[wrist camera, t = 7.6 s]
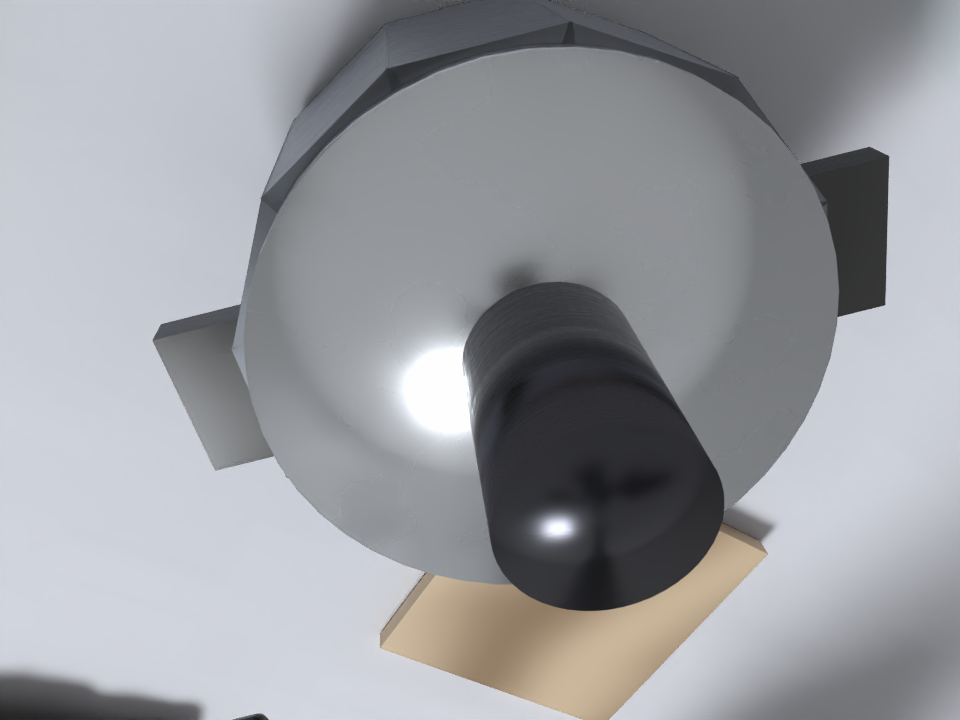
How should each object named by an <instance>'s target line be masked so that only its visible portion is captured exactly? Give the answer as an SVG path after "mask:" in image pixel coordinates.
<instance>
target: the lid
mask: <svg viewBox="0 0 960 720" xmlns="http://www.w3.org/2000/svg"><path fill="white" fill-rule="evenodd" d="M838 299H839V284H838V271H837V259H836V253H835V248H834V244H833V240H832V236H831V232H830V227H829V223H828V220H827V217H826V215H825V213H824V210H823V208H822V205H821V203H820V200H819V198H818V195H817V193H816V191H815V188H814V186H813V185H812V183H811V182H810V180H809V178H808V177H807V175H806V173H805V172H804V170H803V168H802V167H801V165H800V163H799V162H798V160H797V159H796V157H795V156H794V154H793V153H792V152H791V151H790V150H789V149H788V147H787V146H786V145H785V144H784V143H783V142H782V140H781V139H780V138H779V137H778V136H777V135H776V133H775V132H774V131H773V130H772V129H771V128H770V127H769V126H768V125H767V124H766V123H765V122H763V121H762V120H761V119H760V118H759V117H758V116H756V115H755V114H754V113H753V112H752V111H750V110H749V109H748V108H747V107H746V106H745V105H743V104H742V103H741V102H740V101H738V100H737V99H735V98H733V97H732V96H730V95H728V94H727V93H725V92H723V91H722V90H720V89H718V88H717V87H715V86H713V85H712V84H710V83H709V82H707V81H705V80H703V79H702V78H700V77H698V76H696V75H694V74H692V73H690V72H687V71H685V70H682V69H680V68H678V67H675V66H673V65H670V64H668V63H666V62H663V61H661V60H658V59H656V58H653V57H649V56H645V55H641V54H637V53H633V52H629V51H625V50H621V49H617V48H613V47H603V46H592V45H582V44H572V43H563V44H540V45H523V46H518V47H512V48H507V49H501V50H496V51H491V52H485V53H480V54H477V55H474V56H471V57H468V58H465V59H462V60H459V61H456V62H453V63H450V64H447V65H444V66H441V67H438V68H436V69H434V70H432V71H430V72H428V73H425V74H423V75H421V76H419V77H417V78H415V79H413V80H411V81H409V82H407V83H405V84H403V85H401V86H399V87H397V88H395V89H394V90H393V91H391V92H390V93H388V94H387V95H385V96H384V97H382V98H381V99H379V100H378V101H376V102H375V103H373V104H372V105H370V106H369V107H367V108H366V109H364V110H363V111H361V112H360V113H359V114H358V115H357V116H355V117H354V118H353V119H352V120H351V121H350V122H349V123H348V124H347V125H345V126H344V127H343V128H342V129H341V130H340V131H339V132H338V133H336V134H335V135H334V136H333V137H332V138H331V139H330V140H329V141H328V142H327V143H326V144H325V145H324V146H323V148H322V149H321V150H320V151H319V152H318V153H317V155H316V156H315V157H314V158H313V159H312V161H311V162H310V163H309V164H308V165H307V166H306V168H305V169H304V170H303V171H302V172H301V174H300V175H299V177H298V178H297V180H296V182H295V183H294V185H293V186H292V188H291V190H290V191H289V193H288V194H287V196H286V198H285V199H284V201H283V202H282V204H281V206H280V207H279V209H278V211H277V214H276V216H275V218H274V220H273V223H272V225H271V227H270V229H269V232H268V234H267V236H266V239H265V241H264V243H263V246H262V248H261V251H260V254H259V257H258V261H257V264H256V268H255V272H254V275H253V279H252V282H251V286H250V290H249V293H248V300H247V309H246V317H245V326H244V351H245V370H246V375H247V381H248V386H249V391H250V396H251V402H252V405H253V408H254V410H255V413H256V416H257V419H258V422H259V425H260V428H261V430H262V433H263V436H264V437H265V439H266V441H267V443H268V445H269V447H270V449H271V451H272V453H273V455H274V456H275V458H276V460H277V462H278V464H279V465H280V467H281V468H282V469H283V471H284V472H285V474H286V475H287V476H288V478H289V479H290V481H291V482H292V483H293V485H294V486H295V487H296V489H297V490H298V491H299V492H300V493H301V494H302V495H303V496H304V498H305V499H306V500H307V501H308V502H309V503H310V504H311V505H312V506H313V507H314V508H315V509H316V510H317V511H318V512H319V513H320V514H321V515H322V516H323V517H325V518H326V519H327V520H328V521H330V522H331V523H332V524H333V525H335V526H336V527H337V528H338V529H340V530H341V531H342V532H343V533H345V534H346V535H348V536H349V537H351V538H353V539H354V540H356V541H358V542H359V543H361V544H362V545H364V546H366V547H367V548H369V549H371V550H372V551H374V552H376V553H379V554H381V555H383V556H385V557H387V558H389V559H392V560H394V561H396V562H398V563H400V564H403V565H406V566H409V567H412V568H415V569H418V570H421V571H424V572H427V573H430V574H433V575H438V576H443V577H447V578H452V579H457V580H462V581H468V582H478V583H487V584H505V585H514V586H515V587H516V588H518V589H519V590H520V591H521V592H523V593H525V594H526V595H528V596H529V597H531V598H533V599H535V600H537V601H539V602H541V603H544V604H547V605H550V606H553V607H557V608H562V609H567V610H576V611H601V610H611V609H616V608H621V607H625V606H629V605H632V604H636V603H639V602H641V601H644V600H646V599H649V598H651V597H653V596H655V595H657V594H659V593H661V592H663V591H665V590H667V589H668V588H670V587H671V586H673V585H675V584H676V583H678V582H679V581H680V580H681V579H683V578H684V577H685V576H686V575H688V574H689V573H690V572H691V571H692V570H693V569H694V568H695V567H696V566H697V565H698V564H699V563H700V561H701V560H702V559H703V558H704V557H705V555H706V554H707V553H708V551H709V549H710V548H711V546H712V545H713V543H714V541H715V539H716V537H717V535H718V532H719V530H720V526H721V523H722V520H723V514H724V512H725V511H726V510H727V509H728V508H730V507H731V506H732V505H733V504H735V503H736V502H737V501H738V500H740V499H741V498H742V497H743V496H744V495H745V494H746V493H747V492H748V491H749V490H750V489H751V488H752V487H753V486H754V485H755V484H756V483H757V482H758V481H759V480H760V479H761V478H762V477H763V476H764V475H765V474H766V473H767V471H768V470H769V469H770V468H771V467H772V465H773V464H774V463H775V462H776V460H777V459H778V458H779V457H780V455H781V454H782V453H783V452H784V451H785V449H786V448H787V446H788V445H789V443H790V442H791V440H792V439H793V437H794V436H795V434H796V432H797V431H798V429H799V428H800V426H801V425H802V423H803V422H804V420H805V418H806V416H807V414H808V412H809V410H810V408H811V406H812V403H813V401H814V399H815V397H816V395H817V393H818V391H819V389H820V386H821V383H822V380H823V377H824V374H825V371H826V368H827V366H828V363H829V360H830V356H831V351H832V346H833V341H834V336H835V331H836V327H837V315H838Z"/></svg>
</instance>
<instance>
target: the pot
mask: <svg viewBox="0 0 960 720" xmlns="http://www.w3.org/2000/svg"><path fill="white" fill-rule="evenodd" d="M563 43H572V44H582V45H592V46H603V47H613V48H617V49H621V50H625V51H629V52H633V53H637V54H641V55H645V56H649V57H653V58H656V59H658V60H661V61H663V62H666V63H668V64H670V65H673V66H675V67H678V68H680V69H682V70H685V71H687V72H690V73H692V74H694V75H696V76H698V77H700V78H702V79H703V80H705V81H707V82H709V83H710V84H712V85H713V86H715V87H717V88H718V89H720V90H722V91H723V92H725V93H727V94H728V95H730V96H732V97H733V98H735V99H737V100H738V101H740V102H741V103H742V104H743V105H745V106H746V107H747V108H748V109H749V110H750V111H752V112H753V113H754V114H755V115H756V116H758V117H759V118H760V119H761V120H762V121H763V122H765V123H766V124H767V125H768V126H769V127H770V128H771V129H772V130H773V131H774V132H775V133H776V135H777V136H778V137H779V138H780V139H781V137H780V136H779V134H778V133H777V132H776V130H775V129H774V127H773V126H772V125H771V123H770V122H769V121H768V119H767V118H766V116H765V115H764V114H763V112H762V111H761V109H760V108H759V107H758V105H757V104H756V103H755V101H754V100H753V98H752V97H751V96H750V94H749V93H748V92H747V90H746V89H745V87H744V86H743V85H742V83H741V82H740V80H739V79H738V77H737V76H735V75H733V74H731V73H729V72H727V71H725V70H722V69H720V68H718V67H716V66H714V65H712V64H710V63H708V62H706V61H703V60H701V59H699V58H697V57H695V56H693V55H691V54H689V53H687V52H684V51H682V50H680V49H678V48H676V47H674V46H672V45H670V44H668V43H665V42H663V41H661V40H659V39H657V38H655V37H653V36H651V35H649V34H646V33H644V32H642V31H638V30H635V29H632V28H629V27H626V26H623V25H620V24H617V23H614V22H611V21H608V20H605V19H602V18H599V17H596V16H593V15H590V14H587V13H584V12H582V11H580V10H577V9H573V8H570V7H567V6H564V5H561V4H558V3H555V2H552V1H549V0H477V1H473V2H467V3H462V4H456V5H451V6H448V7H445V8H442V9H439V10H436V11H433V12H430V13H426V14H422V15H418V16H414V17H411V18H407V19H403V20H399V21H395V22H391V23H386V24H384V26H383V27H382V28H381V29H380V30H379V31H378V32H377V33H376V35H375V36H374V37H373V38H372V39H371V40H370V41H369V42H368V43H367V44H366V45H365V46H364V47H363V48H362V49H361V50H360V51H359V52H358V53H357V54H356V56H355V57H354V58H353V59H352V60H351V61H349V62H348V63H347V64H346V65H345V66H344V67H343V68H342V69H341V70H340V71H339V72H338V73H337V74H336V75H335V77H334V78H333V79H332V80H331V81H330V83H329V84H328V85H327V86H326V87H325V88H324V89H323V90H322V91H321V92H320V93H319V94H318V95H317V96H316V98H315V99H314V100H313V101H312V102H311V103H310V104H309V105H308V106H307V107H306V108H305V109H304V110H303V111H302V112H301V113H300V114H299V115H298V116H297V117H296V118H295V119H294V121H293V123H292V125H291V127H290V130H289V132H288V134H287V137H286V139H285V142H284V144H283V146H282V149H281V151H280V154H279V156H278V158H277V161H276V163H275V165H274V168H273V170H272V173H271V175H270V177H269V180H268V182H267V185H266V187H265V189H264V192H263V194H262V196H261V203H260V209H259V214H258V219H257V224H256V229H255V234H254V240H253V245H252V250H251V255H250V260H249V265H248V270H247V276H246V281H245V286H244V291H243V296H242V301H241V304H240V305H236V306H232V307H228V308H224V309H220V310H216V311H212V312H208V313H204V314H200V315H196V316H192V317H188V318H184V319H180V320H176V321H172V322H168V323H164V324H161V326H160V327H159V329H158V331H157V333H156V335H155V337H154V339H153V342H154V344H155V347H156V349H157V351H158V353H159V355H160V357H161V359H162V361H163V363H164V365H165V367H166V369H167V371H168V374H169V376H170V378H171V380H172V382H173V384H174V386H175V388H176V390H177V392H178V394H179V396H180V398H181V400H182V403H183V405H184V407H185V409H186V411H187V413H188V415H189V417H190V419H191V421H192V423H193V425H194V427H195V430H196V432H197V434H198V436H199V438H200V440H201V442H202V444H203V446H204V448H205V450H206V452H207V454H208V457H209V459H210V461H211V463H212V465H213V467H214V469H215V471H216V470H220V469H224V468H228V467H232V466H236V465H240V464H244V463H248V462H252V461H256V460H260V459H265V458H269V457H273V456H274V455H273V453H272V451H271V449H270V447H269V445H268V443H267V441H266V439H265V437H264V436H263V433H262V430H261V428H260V425H259V422H258V419H257V416H256V413H255V410H254V408H253V405H252V402H251V396H250V391H249V386H248V381H247V375H246V370H245V351H244V326H245V317H246V309H247V300H248V293H249V290H250V286H251V282H252V279H253V275H254V272H255V268H256V264H257V261H258V257H259V254H260V251H261V248H262V246H263V243H264V241H265V239H266V236H267V234H268V232H269V229H270V227H271V225H272V223H273V220H274V218H275V216H276V214H277V211H278V209H279V207H280V206H281V204H282V202H283V201H284V199H285V198H286V196H287V194H288V193H289V191H290V190H291V188H292V186H293V185H294V183H295V182H296V180H297V178H298V177H299V175H300V174H301V172H302V171H303V170H304V169H305V168H306V166H307V165H308V164H309V163H310V162H311V161H312V159H313V158H314V157H315V156H316V155H317V153H318V152H319V151H320V150H321V149H322V148H323V146H324V145H325V144H326V143H327V142H328V141H329V140H330V139H331V138H332V137H333V136H334V135H335V134H336V133H338V132H339V131H340V130H341V129H342V128H343V127H344V126H345V125H347V124H348V123H349V122H350V121H351V120H352V119H353V118H354V117H355V116H357V115H358V114H359V113H360V112H361V111H363V110H364V109H366V108H367V107H369V106H370V105H372V104H373V103H375V102H376V101H378V100H379V99H381V98H382V97H384V96H385V95H387V94H388V93H390V92H391V91H393V90H394V89H395V88H397V87H399V86H401V85H403V84H405V83H407V82H409V81H411V80H413V79H415V78H417V77H419V76H421V75H423V74H425V73H428V72H430V71H432V70H434V69H436V68H438V67H441V66H444V65H447V64H450V63H453V62H456V61H459V60H462V59H465V58H468V57H471V56H474V55H477V54H480V53H485V52H491V51H496V50H501V49H507V48H512V47H518V46H523V45H540V44H563ZM781 140H782V139H781ZM782 142H783V143H784V141H783V140H782ZM784 144H785V143H784ZM785 145H786V144H785ZM786 146H787V145H786ZM788 149H789V148H788ZM800 165H801V167H802V168H803V170H804V172H805V173H806V175H807V177H808V178H809V180H810V182H811V183H812V185H813V186H814V188H815V191H816V193H817V195H818V198H819V200H820V203H821V205H822V208H823V210H824V213H825V215H826V217H827V220H828V223H829V227H830V232H831V236H832V240H833V244H834V248H835V253H836V259H837V271H838V284H839V299H838V315H837V317H839V316H843V315H847V314H851V313H855V312H859V311H863V310H867V309H872V308H876V307H880V306H884V305H885V293H886V254H887V216H888V177H889V156H888V155H886V154H884V153H882V152H880V151H877V150H875V149H873V148H871V147H867V148H863V149H859V150H855V151H851V152H847V153H843V154H839V155H835V156H831V157H827V158H823V159H819V160H815V161H811V162H807V163H803V164H800ZM284 473H285V472H284ZM285 476H286V477H287V478H288V476H287V475H286V474H285Z"/></svg>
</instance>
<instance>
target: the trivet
mask: <svg viewBox="0 0 960 720" xmlns="http://www.w3.org/2000/svg"><path fill="white" fill-rule="evenodd" d="M767 555H768V553H767V552H766V550H765V548H764V547H763V545H762V543H761V542H760V541H758V540H756V539H754V538H752V537H750V536H748V535H746V534H744V533H742V532H740V531H738V530H736V529H734V528H732V527H730V526H728V525H726V524H724V523H721V526H720V530H719V532H718V535H717V537H716V539H715V541H714V543H713V545H712V546H711V548H710V549H709V551H708V553H707V554H706V555H705V557H704V558H703V559H702V560H701V561H700V563H699V564H698V565H697V566H696V567H695V568H694V569H693V570H692V571H691V572H690V573H689V574H688V575H686V576H685V577H684V578H683V579H681V580H680V581H679V582H678V583H676V584H675V585H673V586H671V587H670V588H668V589H667V590H665V591H663V592H661V593H659V594H657V595H655V596H653V597H651V598H649V599H646V600H644V601H641V602H639V603H636V604H632V605H629V606H625V607H621V608H616V609H611V610H601V611H576V610H567V609H562V608H557V607H553V606H550V605H547V604H544V603H541V602H539V601H537V600H535V599H533V598H531V597H529V596H528V595H526V594H525V593H523V592H521V591H520V590H519V589H518V588H516V587H515V586H514V585H505V584H487V583H478V582H468V581H462V580H457V579H452V578H447V577H443V576H438V575H433V574H430V573H427V572H426V574H425V575H424V576H423V578H422V579H421V580H420V582H419V583H418V584H417V585H416V587H415V588H414V589H413V591H412V592H411V593H410V595H409V596H408V597H407V599H406V600H405V601H404V603H403V604H402V605H401V607H400V608H399V609H398V611H397V612H396V613H395V615H394V616H393V617H392V619H391V620H390V621H389V623H388V624H387V625H386V627H385V628H384V629H383V631H382V632H381V633H380V648H381V649H384V650H387V651H390V652H392V653H395V654H398V655H401V656H404V657H407V658H409V659H412V660H415V661H418V662H421V663H424V664H426V665H429V666H432V667H435V668H438V669H441V670H444V671H446V672H449V673H452V674H455V675H458V676H461V677H463V678H466V679H469V680H472V681H475V682H478V683H480V684H483V685H486V686H489V687H492V688H495V689H498V690H500V691H503V692H506V693H509V694H512V695H515V696H517V697H520V698H523V699H526V700H529V701H532V702H534V703H537V704H540V705H543V706H546V707H549V708H551V709H554V710H557V711H560V712H563V713H566V714H569V715H571V716H574V717H577V718H580V719H583V720H609V719H610V718H611V717H612V716H613V715H614V714H615V713H616V712H617V711H618V709H619V708H620V707H621V706H622V705H623V704H624V703H625V702H626V701H627V700H628V699H629V698H630V697H631V696H632V695H633V694H634V693H635V692H636V691H637V690H638V689H639V688H640V687H641V686H642V685H643V683H644V682H645V681H646V680H647V679H648V678H649V677H650V676H651V675H652V674H653V673H654V672H655V671H656V670H657V669H658V668H659V667H660V666H661V665H662V664H663V663H664V662H665V661H666V660H667V659H668V657H669V656H670V655H671V654H672V653H673V652H674V651H675V650H676V649H677V648H678V647H679V646H680V645H681V644H682V643H683V642H684V641H685V640H686V639H687V638H688V637H689V636H690V635H691V634H692V633H693V632H694V630H695V629H696V628H697V627H698V626H699V625H700V624H701V623H702V622H703V621H704V620H705V619H706V618H707V617H708V616H709V615H710V614H711V613H712V612H713V611H714V610H715V609H716V608H717V607H718V606H719V604H720V603H721V602H722V601H723V600H724V599H725V598H726V597H727V596H728V595H729V594H730V593H731V592H732V591H733V590H734V589H735V588H736V587H737V586H738V585H739V584H740V583H741V582H742V581H743V580H744V578H745V577H746V576H747V575H748V574H749V573H750V572H751V571H752V570H753V569H754V568H755V567H756V566H757V565H758V564H759V563H760V562H761V561H762V560H763V559H764V558H765V557H766V556H767Z"/></svg>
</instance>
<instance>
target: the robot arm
mask: <svg viewBox="0 0 960 720" xmlns="http://www.w3.org/2000/svg"><path fill="white" fill-rule="evenodd" d="M234 720H268V718H267V717H266V716H265V715H263V714H253V715H249V716H245V717H241V718H237V719H234Z"/></svg>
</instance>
